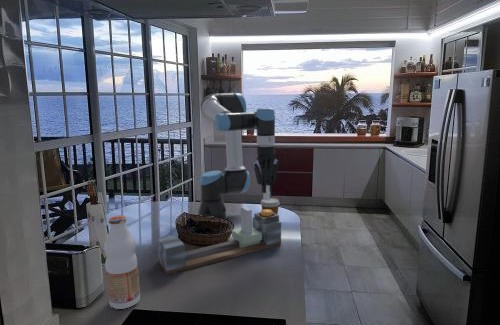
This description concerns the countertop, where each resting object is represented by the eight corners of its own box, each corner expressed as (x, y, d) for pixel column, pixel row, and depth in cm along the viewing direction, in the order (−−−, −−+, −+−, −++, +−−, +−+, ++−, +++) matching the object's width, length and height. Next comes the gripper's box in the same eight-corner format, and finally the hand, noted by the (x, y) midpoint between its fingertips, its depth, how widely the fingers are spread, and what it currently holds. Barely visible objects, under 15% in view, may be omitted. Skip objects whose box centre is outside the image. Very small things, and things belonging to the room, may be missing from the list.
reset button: (258, 215, 158) (258, 210, 158) (268, 213, 160) (268, 208, 160) (264, 218, 154) (264, 213, 153) (274, 216, 156) (274, 211, 156)
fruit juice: (112, 314, 108) (104, 225, 103) (106, 299, 116) (98, 216, 111) (144, 304, 113) (137, 219, 108) (136, 290, 121) (129, 211, 116)
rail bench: (158, 261, 142) (156, 231, 139) (266, 235, 166) (266, 209, 164) (167, 274, 132) (165, 242, 129) (281, 244, 156) (281, 216, 154)
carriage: (232, 240, 156) (231, 207, 153) (250, 236, 161) (249, 203, 158) (243, 249, 148) (242, 213, 145) (262, 244, 152) (261, 209, 149)
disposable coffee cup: (279, 220, 185) (279, 197, 183) (279, 227, 176) (279, 203, 174) (261, 219, 186) (261, 197, 184) (260, 226, 177) (259, 203, 175)
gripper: (257, 147, 145) (258, 204, 149) (283, 145, 151) (283, 199, 156) (247, 145, 151) (249, 200, 156) (273, 143, 158) (274, 195, 162)
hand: (266, 199), depth 156 cm, fingers closed
